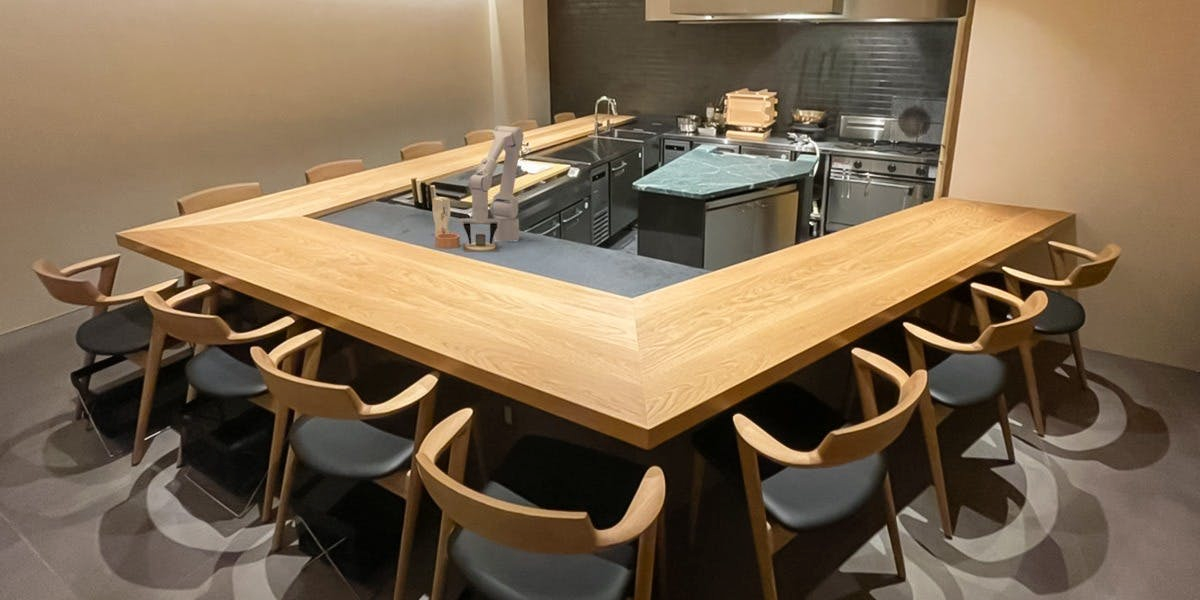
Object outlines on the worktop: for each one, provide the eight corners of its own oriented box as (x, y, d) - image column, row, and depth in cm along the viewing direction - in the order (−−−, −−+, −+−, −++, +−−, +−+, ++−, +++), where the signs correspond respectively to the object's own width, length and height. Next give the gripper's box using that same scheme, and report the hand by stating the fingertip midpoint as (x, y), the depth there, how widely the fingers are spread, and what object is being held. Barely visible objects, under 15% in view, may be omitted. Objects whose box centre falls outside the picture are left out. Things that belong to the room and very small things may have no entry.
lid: (494, 243, 258) (494, 231, 257) (496, 250, 248) (496, 238, 247) (465, 244, 256) (465, 231, 254) (466, 251, 246) (466, 238, 244)
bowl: (459, 243, 258) (459, 233, 257) (460, 248, 250) (459, 238, 249) (436, 243, 256) (435, 233, 255) (435, 249, 248) (435, 238, 247)
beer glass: (453, 234, 272) (452, 197, 268) (448, 238, 266) (446, 200, 261) (436, 233, 273) (435, 196, 268) (430, 236, 266) (429, 199, 261)
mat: (496, 244, 260) (496, 243, 259) (499, 252, 248) (499, 251, 247) (462, 244, 257) (462, 243, 256) (463, 253, 245) (463, 251, 244)
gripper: (460, 209, 242) (461, 246, 246) (500, 209, 245) (500, 245, 249) (459, 205, 248) (460, 241, 253) (499, 205, 252) (499, 241, 256)
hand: (480, 243), depth 251 cm, fingers open, 7 cm apart
